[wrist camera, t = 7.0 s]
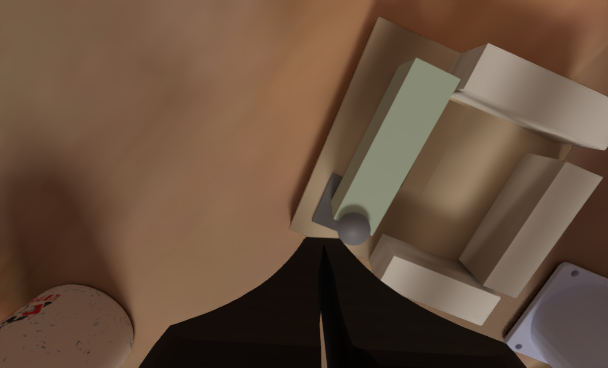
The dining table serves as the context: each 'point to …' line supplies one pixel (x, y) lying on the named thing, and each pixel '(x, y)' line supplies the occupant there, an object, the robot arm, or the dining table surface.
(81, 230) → the dining table surface
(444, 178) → the cream shallow tray
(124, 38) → the dining table surface
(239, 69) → the dining table surface
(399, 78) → the green rectangular block
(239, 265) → the dining table surface
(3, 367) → the teacup with lid
